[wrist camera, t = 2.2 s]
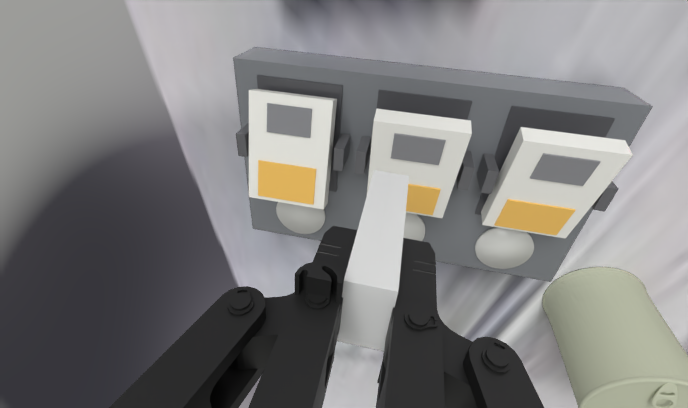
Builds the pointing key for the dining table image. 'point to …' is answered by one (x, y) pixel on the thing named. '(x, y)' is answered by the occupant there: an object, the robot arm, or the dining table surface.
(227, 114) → the dining table surface
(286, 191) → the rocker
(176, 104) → the dining table surface
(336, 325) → the robot arm
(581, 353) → the can
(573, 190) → the rocker
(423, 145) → the rocker middle
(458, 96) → the rocker switch panel
